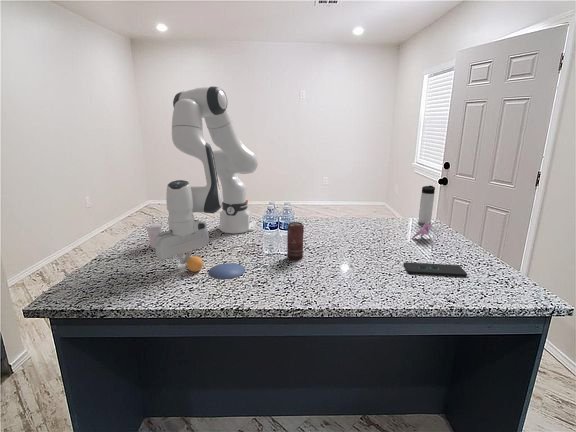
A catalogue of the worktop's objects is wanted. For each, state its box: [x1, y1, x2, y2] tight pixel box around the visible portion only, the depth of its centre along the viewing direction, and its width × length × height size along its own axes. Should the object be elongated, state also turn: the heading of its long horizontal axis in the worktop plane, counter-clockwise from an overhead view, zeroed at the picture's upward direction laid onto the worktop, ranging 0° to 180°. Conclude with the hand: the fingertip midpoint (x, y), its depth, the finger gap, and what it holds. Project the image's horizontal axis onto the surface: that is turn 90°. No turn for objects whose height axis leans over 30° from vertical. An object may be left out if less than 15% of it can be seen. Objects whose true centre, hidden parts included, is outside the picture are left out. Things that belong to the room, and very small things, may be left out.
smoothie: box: [145, 215, 163, 249], centre depth 142 cm, size 6×6×14 cm
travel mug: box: [417, 185, 436, 226], centre depth 178 cm, size 6×7×20 cm
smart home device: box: [403, 261, 468, 278], centre depth 123 cm, size 8×2×20 cm
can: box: [286, 221, 305, 261], centre depth 131 cm, size 6×6×14 cm
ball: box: [186, 255, 204, 273], centre depth 120 cm, size 6×6×6 cm
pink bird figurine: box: [411, 221, 436, 242], centre depth 154 cm, size 12×12×10 cm
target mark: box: [207, 262, 246, 280], centre depth 121 cm, size 13×13×1 cm
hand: (184, 263), depth 123 cm, fingers closed
